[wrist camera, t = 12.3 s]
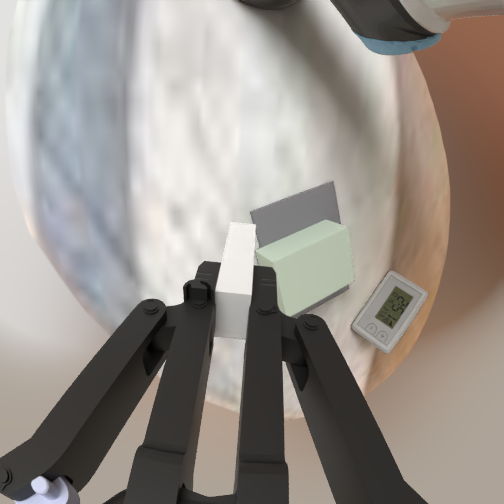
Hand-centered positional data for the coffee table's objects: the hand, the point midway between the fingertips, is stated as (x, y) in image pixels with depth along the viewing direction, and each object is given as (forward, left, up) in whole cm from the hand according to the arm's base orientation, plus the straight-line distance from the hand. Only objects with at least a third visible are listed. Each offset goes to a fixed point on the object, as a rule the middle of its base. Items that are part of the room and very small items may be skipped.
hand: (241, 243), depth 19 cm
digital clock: (-33, +36, -26) cm, 55 cm away
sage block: (-9, +17, -22) cm, 29 cm away
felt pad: (-18, +17, -25) cm, 36 cm away
